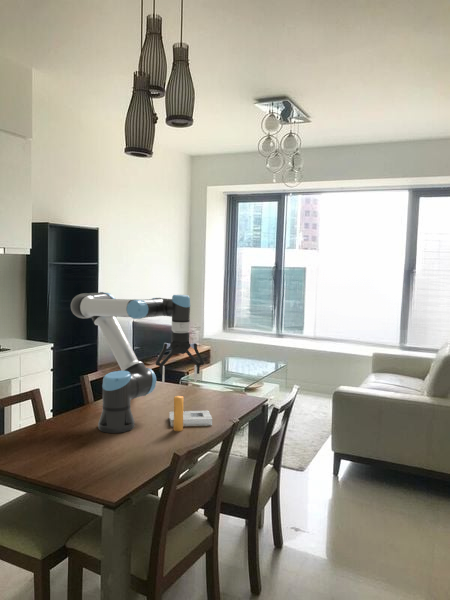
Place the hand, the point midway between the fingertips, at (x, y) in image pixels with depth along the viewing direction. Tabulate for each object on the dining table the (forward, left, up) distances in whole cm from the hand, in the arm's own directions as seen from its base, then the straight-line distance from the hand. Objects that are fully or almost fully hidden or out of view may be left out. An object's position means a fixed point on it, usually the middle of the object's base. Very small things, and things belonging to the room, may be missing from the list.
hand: (179, 381), depth 202 cm
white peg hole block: (+6, +10, -21) cm, 23 cm away
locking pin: (0, 0, -21) cm, 21 cm away
